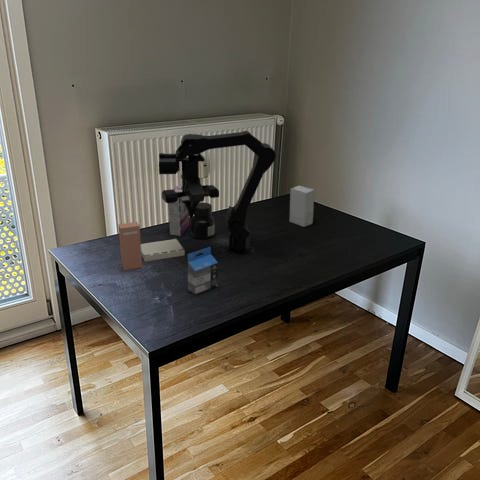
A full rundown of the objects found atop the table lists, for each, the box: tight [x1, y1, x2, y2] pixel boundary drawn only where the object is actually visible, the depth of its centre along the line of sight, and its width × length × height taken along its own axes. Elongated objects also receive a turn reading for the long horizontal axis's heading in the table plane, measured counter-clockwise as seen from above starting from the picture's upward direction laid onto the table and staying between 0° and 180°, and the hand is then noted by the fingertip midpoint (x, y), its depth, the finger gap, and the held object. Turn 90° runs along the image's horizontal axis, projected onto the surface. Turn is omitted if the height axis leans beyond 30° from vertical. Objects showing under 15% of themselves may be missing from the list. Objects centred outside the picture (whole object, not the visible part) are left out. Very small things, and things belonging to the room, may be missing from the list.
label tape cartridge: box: [187, 246, 219, 295], centre depth 144 cm, size 9×4×12 cm, turn 131°
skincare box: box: [288, 185, 315, 228], centre depth 194 cm, size 8×6×15 cm
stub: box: [117, 221, 143, 271], centre depth 155 cm, size 6×4×15 cm, turn 113°
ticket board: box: [141, 238, 186, 263], centre depth 168 cm, size 14×10×2 cm
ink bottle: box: [190, 202, 215, 240], centre depth 181 cm, size 10×9×12 cm
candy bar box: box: [167, 185, 191, 237], centre depth 183 cm, size 11×5×16 cm, turn 168°
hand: (191, 217), depth 165 cm, fingers closed
